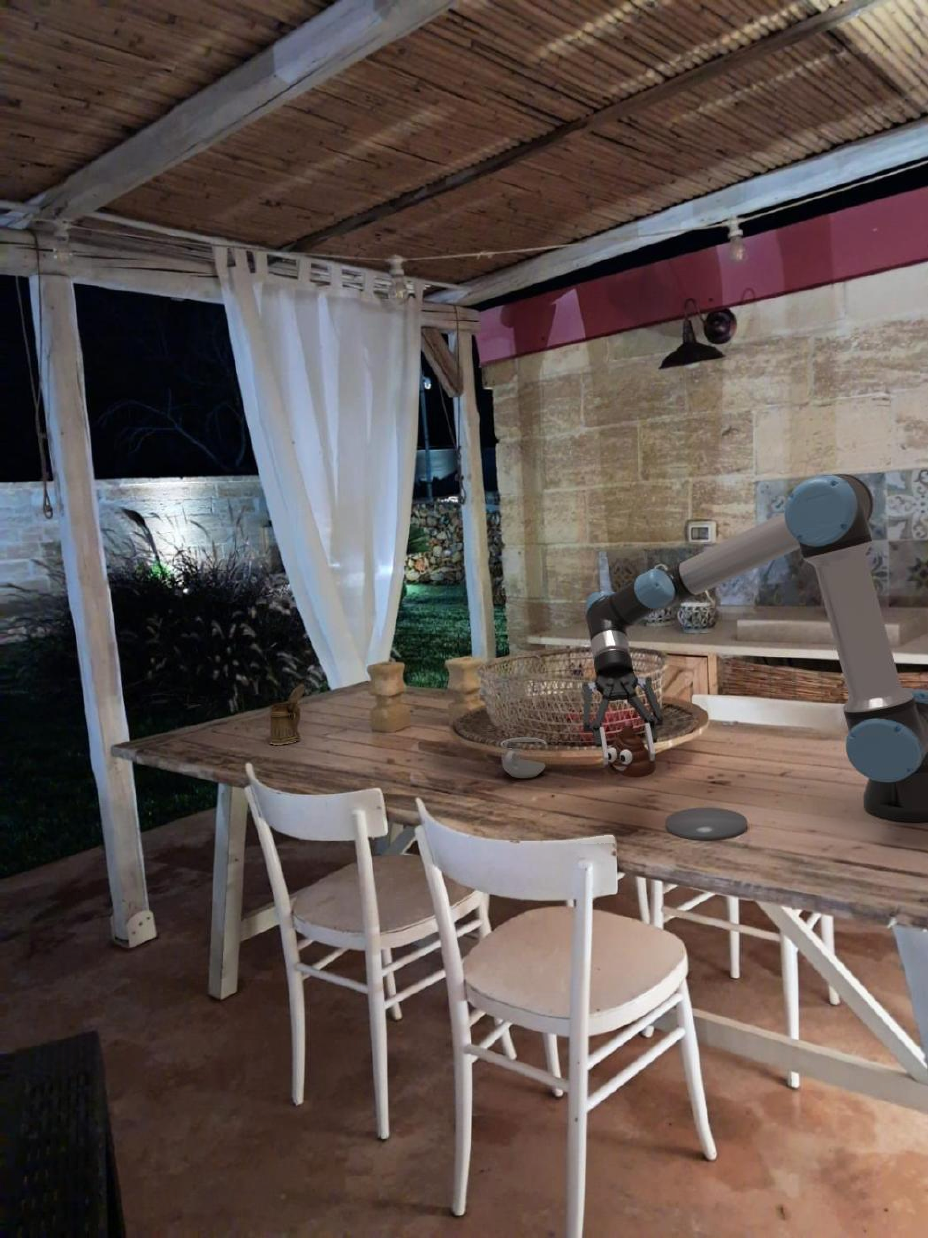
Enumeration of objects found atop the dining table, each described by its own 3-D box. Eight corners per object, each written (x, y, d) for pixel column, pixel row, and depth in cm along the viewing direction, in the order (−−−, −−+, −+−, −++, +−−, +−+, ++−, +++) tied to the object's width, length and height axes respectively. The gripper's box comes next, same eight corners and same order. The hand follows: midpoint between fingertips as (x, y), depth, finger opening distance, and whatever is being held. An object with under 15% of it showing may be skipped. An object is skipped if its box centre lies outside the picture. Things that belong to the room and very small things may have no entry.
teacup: (520, 766, 227) (518, 734, 226) (557, 771, 220) (555, 738, 219) (485, 782, 216) (482, 749, 215) (523, 788, 209) (520, 753, 208)
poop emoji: (664, 769, 175) (661, 721, 174) (639, 782, 169) (635, 732, 168) (621, 763, 182) (617, 716, 181) (595, 774, 176) (591, 727, 175)
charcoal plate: (735, 809, 183) (735, 805, 183) (756, 837, 168) (756, 831, 168) (659, 815, 184) (659, 810, 184) (673, 843, 169) (673, 838, 169)
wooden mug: (299, 747, 266) (291, 686, 263) (263, 745, 272) (256, 685, 270) (318, 739, 273) (311, 679, 271) (283, 737, 280) (276, 679, 278)
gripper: (662, 665, 188) (683, 764, 174) (560, 674, 189) (573, 773, 175) (665, 643, 182) (687, 744, 168) (560, 652, 183) (573, 753, 169)
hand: (629, 758), depth 171 cm, fingers closed on poop emoji, 8 cm apart
